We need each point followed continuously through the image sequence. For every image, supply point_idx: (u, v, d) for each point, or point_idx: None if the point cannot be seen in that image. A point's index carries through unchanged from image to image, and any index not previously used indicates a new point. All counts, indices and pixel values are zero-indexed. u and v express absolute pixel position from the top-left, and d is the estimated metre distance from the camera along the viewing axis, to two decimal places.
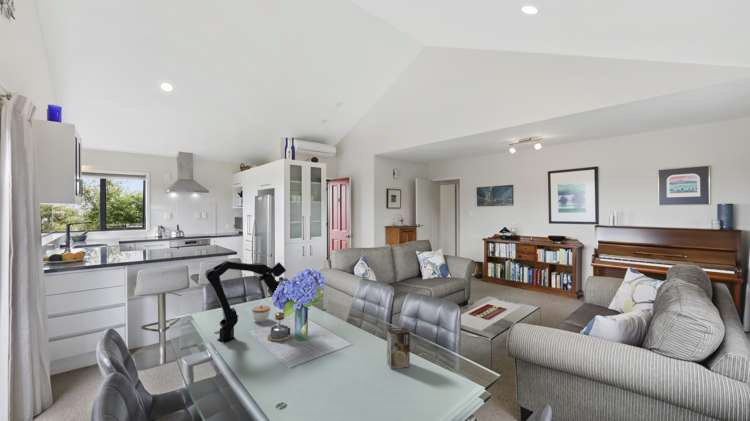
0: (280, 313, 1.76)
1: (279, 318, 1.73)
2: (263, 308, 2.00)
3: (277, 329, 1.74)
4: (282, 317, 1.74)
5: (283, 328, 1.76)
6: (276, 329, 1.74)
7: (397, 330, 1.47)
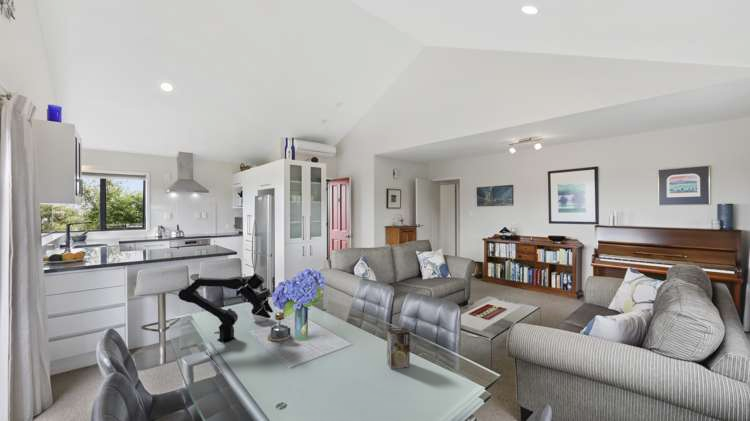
0: (280, 313, 1.76)
1: (279, 318, 1.73)
2: None
3: (277, 329, 1.74)
4: (282, 317, 1.74)
5: (283, 328, 1.76)
6: (276, 329, 1.74)
7: (397, 330, 1.47)
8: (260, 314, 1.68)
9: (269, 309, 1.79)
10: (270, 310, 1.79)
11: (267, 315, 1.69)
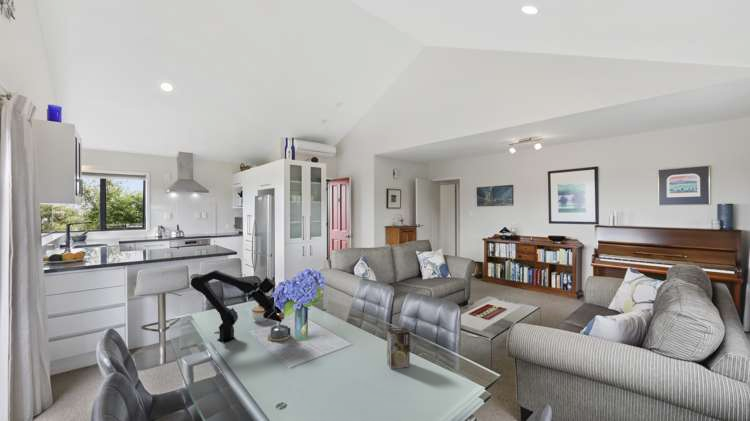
0: (280, 313, 1.76)
1: None
2: None
3: (277, 329, 1.74)
4: (282, 317, 1.74)
5: (283, 328, 1.76)
6: (276, 329, 1.74)
7: (397, 330, 1.47)
8: (272, 318, 1.69)
9: None
10: None
11: (278, 319, 1.70)
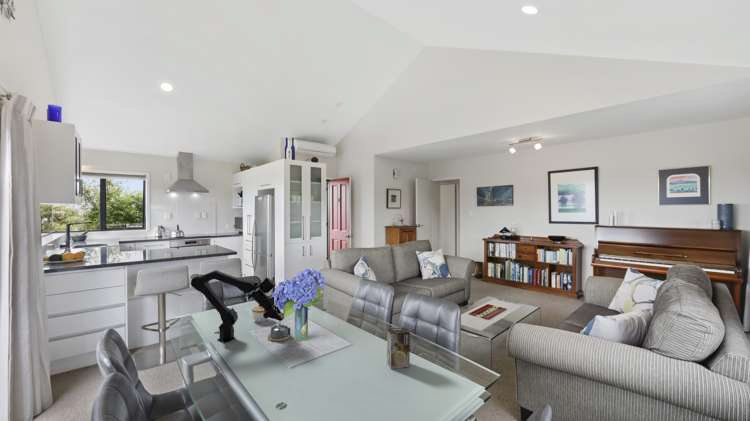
0: (280, 313, 1.76)
1: None
2: None
3: (277, 329, 1.74)
4: (282, 317, 1.74)
5: (283, 328, 1.76)
6: (276, 329, 1.74)
7: (397, 330, 1.47)
8: (272, 317, 1.71)
9: None
10: None
11: (279, 318, 1.72)
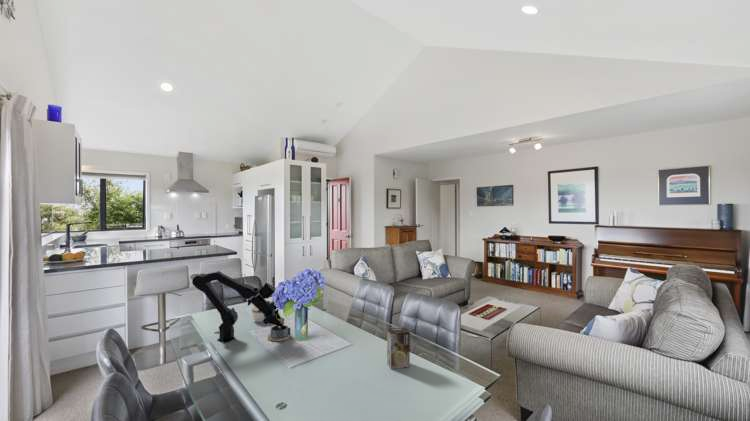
0: (280, 318, 1.76)
1: None
2: None
3: None
4: (282, 322, 1.74)
5: None
6: None
7: (397, 330, 1.47)
8: (272, 322, 1.71)
9: None
10: None
11: (279, 323, 1.72)
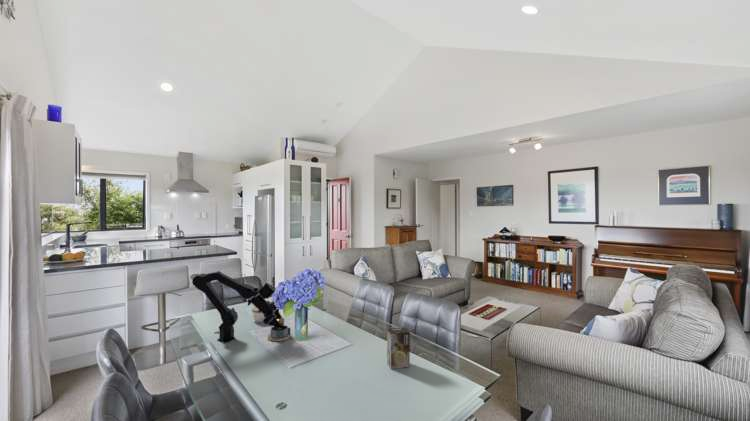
0: (280, 318, 1.76)
1: None
2: None
3: None
4: (282, 323, 1.74)
5: None
6: None
7: (397, 330, 1.47)
8: (271, 324, 1.69)
9: None
10: None
11: (278, 325, 1.70)
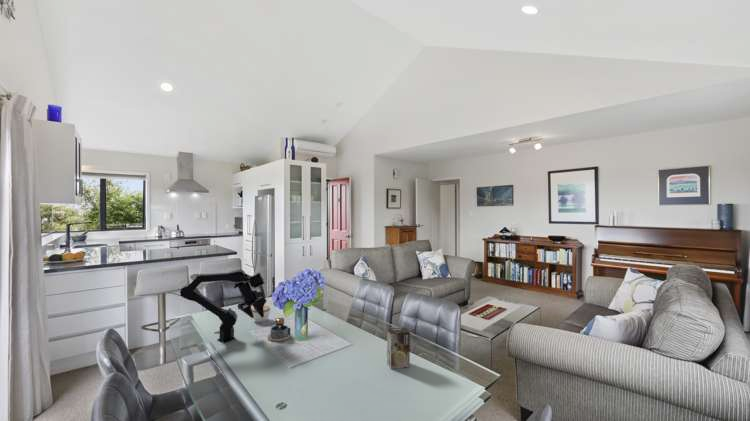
0: (280, 318, 1.76)
1: (279, 324, 1.73)
2: (263, 308, 2.00)
3: None
4: (282, 323, 1.74)
5: None
6: None
7: (397, 330, 1.47)
8: (258, 310, 1.70)
9: (251, 314, 1.78)
10: (251, 315, 1.78)
11: (262, 313, 1.72)
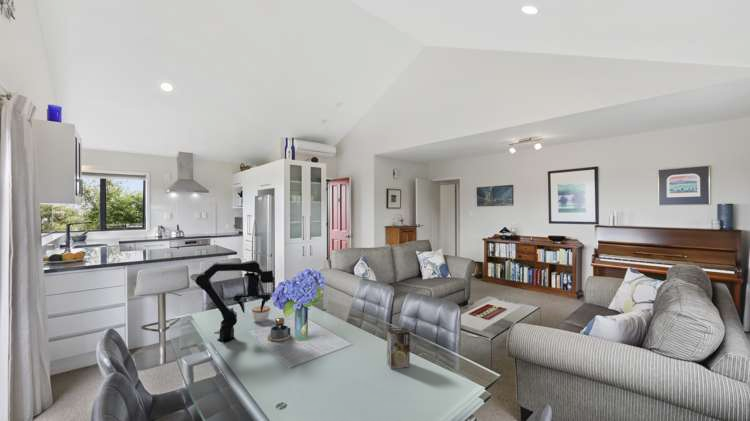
0: (280, 318, 1.76)
1: (279, 324, 1.73)
2: (263, 308, 2.00)
3: None
4: (282, 323, 1.74)
5: None
6: None
7: (397, 330, 1.47)
8: None
9: (244, 308, 1.75)
10: (244, 309, 1.75)
11: (262, 308, 1.77)
